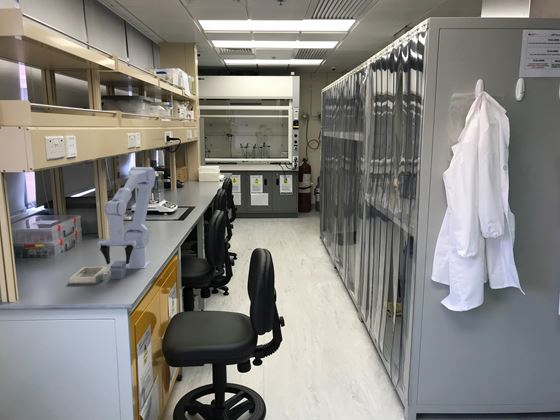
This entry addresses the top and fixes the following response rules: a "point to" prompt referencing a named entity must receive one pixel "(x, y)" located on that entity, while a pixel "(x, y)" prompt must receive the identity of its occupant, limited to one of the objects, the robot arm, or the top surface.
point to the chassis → (88, 275)
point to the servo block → (118, 269)
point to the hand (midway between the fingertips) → (118, 263)
